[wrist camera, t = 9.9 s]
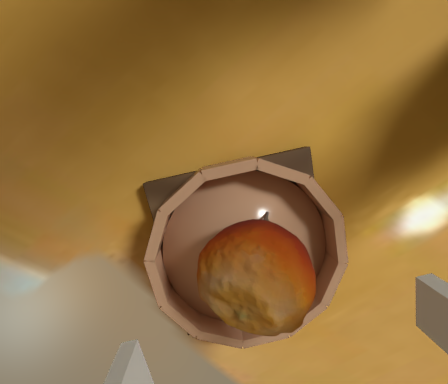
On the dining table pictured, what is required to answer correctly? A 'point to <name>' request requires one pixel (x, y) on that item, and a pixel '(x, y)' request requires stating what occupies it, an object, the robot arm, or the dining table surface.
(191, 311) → the bowl
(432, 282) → the robot arm
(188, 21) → the dining table surface
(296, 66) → the dining table surface
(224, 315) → the fruit
